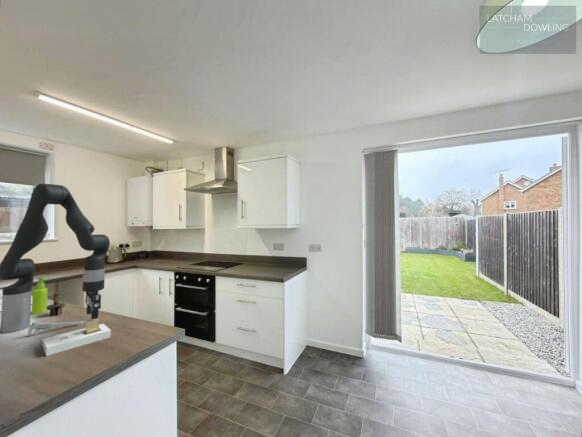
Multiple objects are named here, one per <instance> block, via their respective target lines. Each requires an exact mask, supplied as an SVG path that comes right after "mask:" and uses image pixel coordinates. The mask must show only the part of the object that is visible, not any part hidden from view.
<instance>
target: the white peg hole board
mask: <svg viewBox="0 0 582 437" xmlns="http://www.w3.org/2000/svg"><path fill="white" fill-rule="evenodd" d="M111 337H112V329H110V328H109V327H108V326H107V325H105V323H99V331H98V332H94V333H90V334H87V335H85V327H84V328H81V329H76V330H72V331H68V332H64V333H59V334H56V335H53V336H48V337H44V338H42V344H41V346H42V349H43V352H44V354H45V356H46V357H48V356H50V355H51V356H52V355H54V354H57V353H62V352H65V351H69V350H72V349H76V348H78V347H81V346H85V345H89V344H92V343H96V342H100V341H103V340H106V339H109V338H111Z"/></svg>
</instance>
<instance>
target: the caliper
mask: <svg viewBox="0 0 582 437" xmlns="http://www.w3.org/2000/svg"><path fill="white" fill-rule="evenodd" d="M80 324H81V325H85V320H80V321H69V322H58V323H57V322H56V323H55V322H54V323H52V322H47V323H46V322H45V323H44V322H43V323H38V321H36V322H34V321H33V322H32V323H31V324H30V326H29V327H28V328H27V329H28V330H27V337H31V334H32V332H33V330H34V334H33V336H34V337H36V336H37V335H38V333H39V332H40V330H44V331H45V330H51V328H58V327H59V328H60V327H69V326H80Z"/></svg>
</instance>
